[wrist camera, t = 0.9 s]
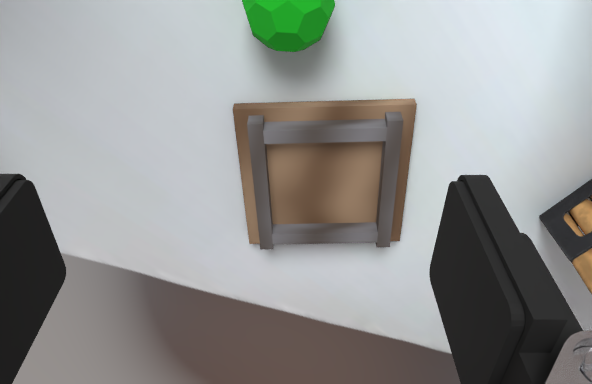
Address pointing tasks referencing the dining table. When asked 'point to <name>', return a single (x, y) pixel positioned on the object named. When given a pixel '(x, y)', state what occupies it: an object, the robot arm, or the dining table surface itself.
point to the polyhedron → (288, 22)
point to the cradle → (324, 170)
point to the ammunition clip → (574, 229)
